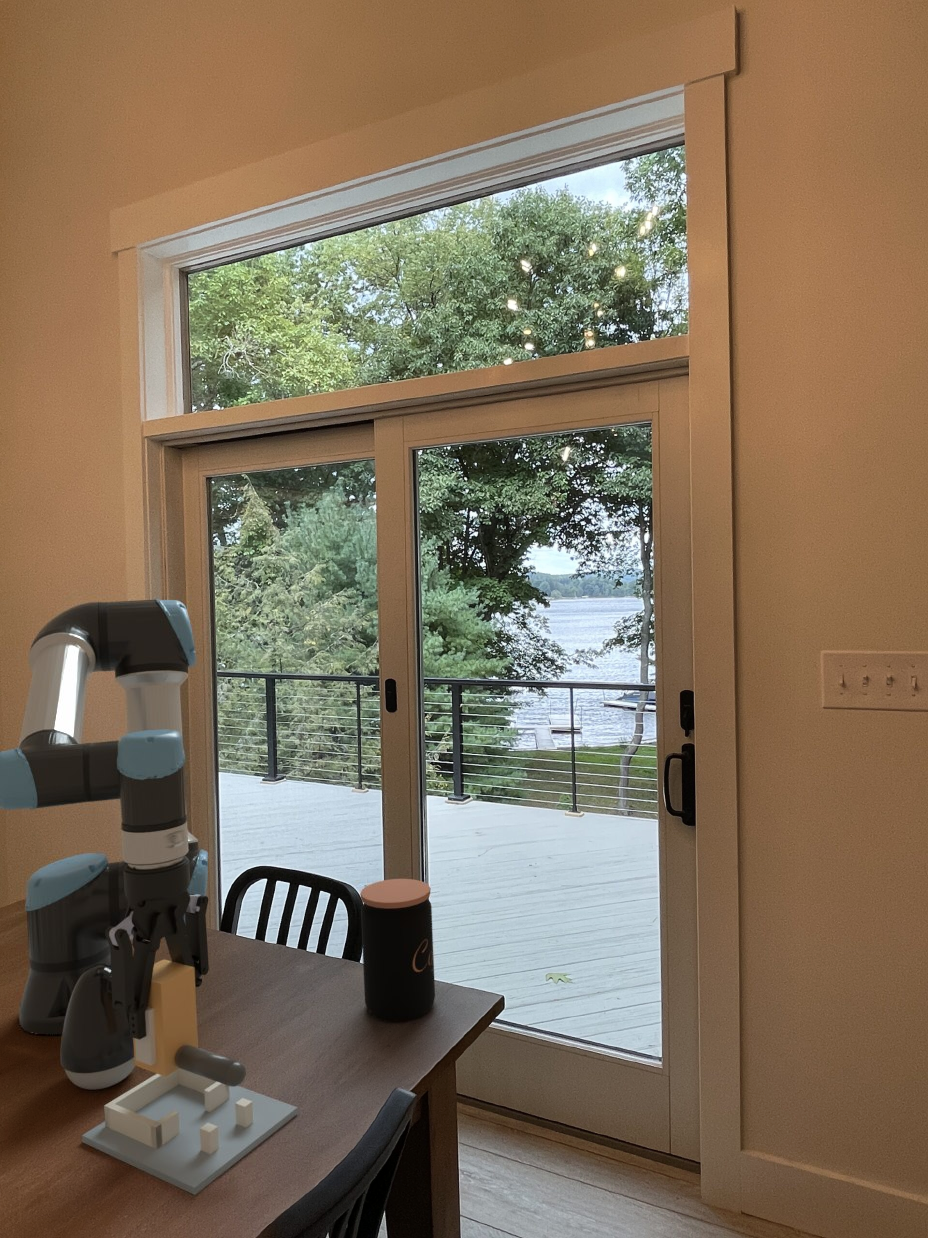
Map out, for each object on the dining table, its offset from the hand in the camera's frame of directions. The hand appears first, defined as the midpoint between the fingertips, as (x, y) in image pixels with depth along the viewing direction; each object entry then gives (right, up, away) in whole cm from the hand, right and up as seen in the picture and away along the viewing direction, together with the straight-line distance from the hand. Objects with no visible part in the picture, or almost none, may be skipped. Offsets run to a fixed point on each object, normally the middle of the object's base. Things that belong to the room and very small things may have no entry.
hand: (165, 1049), depth 104 cm
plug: (+4, -1, -3) cm, 5 cm away
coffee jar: (+27, -7, +27) cm, 38 cm away
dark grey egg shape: (-12, -9, +10) cm, 18 cm away
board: (+4, -8, -2) cm, 9 cm away
